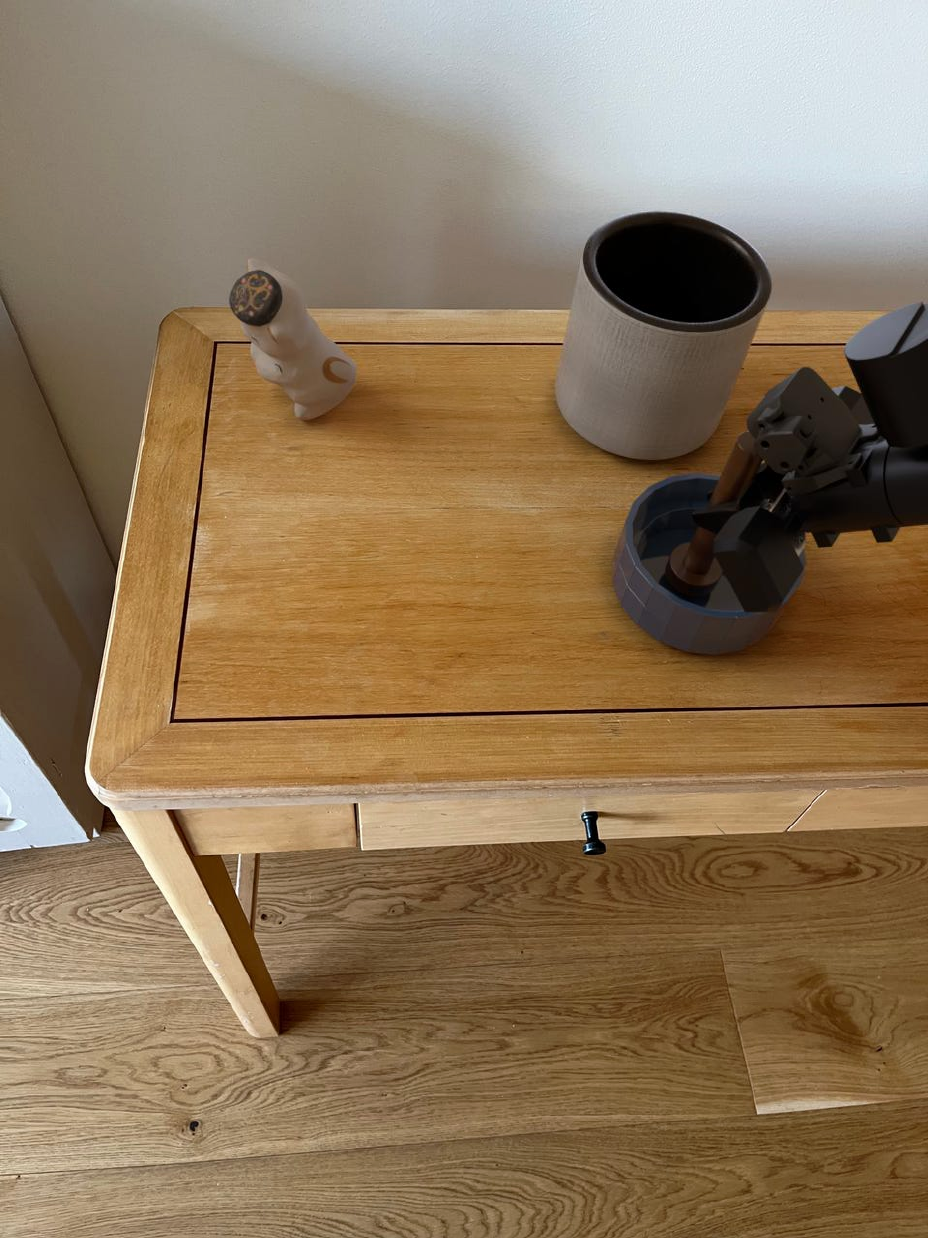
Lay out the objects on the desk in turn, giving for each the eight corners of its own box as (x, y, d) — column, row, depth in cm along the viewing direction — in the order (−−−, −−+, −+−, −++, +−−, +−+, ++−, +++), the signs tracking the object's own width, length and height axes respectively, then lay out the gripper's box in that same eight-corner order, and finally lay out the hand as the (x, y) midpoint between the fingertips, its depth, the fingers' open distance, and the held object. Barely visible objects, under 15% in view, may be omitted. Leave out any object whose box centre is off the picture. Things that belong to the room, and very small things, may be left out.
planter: (752, 428, 88) (815, 292, 75) (622, 492, 83) (665, 357, 70) (646, 328, 95) (687, 187, 82) (519, 382, 90) (541, 240, 77)
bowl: (739, 508, 83) (762, 463, 78) (806, 642, 76) (835, 601, 70) (588, 531, 80) (602, 485, 75) (642, 671, 73) (661, 631, 68)
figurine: (247, 376, 88) (223, 235, 75) (353, 370, 89) (347, 230, 76) (251, 444, 83) (226, 306, 70) (363, 436, 84) (358, 299, 72)
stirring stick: (706, 549, 78) (770, 415, 65) (725, 592, 76) (795, 462, 63) (657, 557, 77) (712, 422, 64) (675, 600, 75) (735, 470, 62)
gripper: (915, 293, 60) (713, 352, 72) (796, 462, 51) (588, 497, 63) (968, 437, 64) (769, 469, 76) (867, 616, 55) (661, 620, 67)
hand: (702, 508), depth 71 cm, fingers closed on stirring stick, 2 cm apart
